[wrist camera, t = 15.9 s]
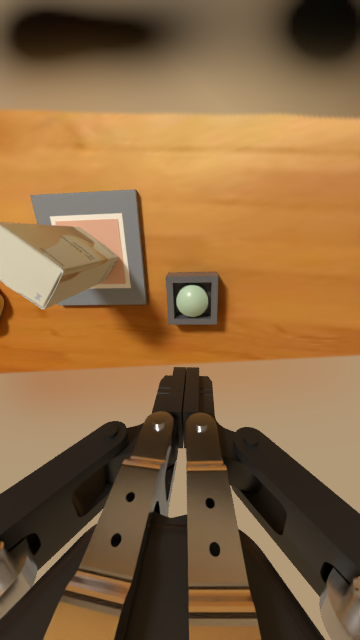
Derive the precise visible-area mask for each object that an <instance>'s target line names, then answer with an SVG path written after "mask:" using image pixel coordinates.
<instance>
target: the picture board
mask: <svg viewBox="0 0 360 640" xmlns="http://www.w3.org/2000/svg"><path fill="white" fill-rule="evenodd" d="M30 196H31V200H32V204H33V208H34V212H35V216H36V220H37V224H39V225H56V226H74V227H80V228H82V229H83V230H84V231H86V232H87V233H89V234H90V235H91V236H93V237H94V238H96V239H97V240H98V241H100V242H101V243H102V244H103V245H105V246H106V247H107V248H109V249H110V250H111V251H112V252H114V253H115V254H116V255H117V256H118V260H117V261H116V263H115V265H114V267H113V268H112V270H111V271H110V273H109V274H108V276H107V277H106V279H105V280H104V282H102V283H100V284H98V285H96V286H93V287H91V288H89V289H87V290H85V291H83V292H81V293H78V294H76V295H74V296H72V297H70V298H68V299H65V300H63V301H61V302H59V303H57V304H58V305H146V304H147V293H146V282H145V272H144V261H143V250H142V239H141V229H140V218H139V207H138V196H137V190H118V191H100V192H81V193H63V194H44V195H30Z"/></svg>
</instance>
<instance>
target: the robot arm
mask: <svg viewBox="0 0 360 640" xmlns="http://www.w3.org/2000/svg"><path fill="white" fill-rule="evenodd" d="M212 389H213V388H212V381H211V380H210V379H209V377H208V376H199V368H189V367H188V368H187V369H186V367H174V371H173V376H164V378H163V379H162V380H161V381H160V385H159V389H158V393H157V396H156V400H155V403H154V407H153V411H152V414H150V415H149V416H148V417H147V418H146V420H145V422H144V423H143V424H141V425H138V426H134V427H130V428H126V426H125V424H124V423H122V422H119V421H112V422H108V423H106V424H104V425H103V426H101V427H100V428H98V429H97V430H95V431H94V432H92V433H91V434H89V435H88V436H86V437H85V438H83V439H82V440H80V441H79V442H77V443H76V444H74V445H73V446H72V447H70V448H68V449H67V450H65V451H64V452H62V453H61V454H60V455H58V456H57V457H55V458H54V459H52V460H50V461H49V462H48V463H46V464H44V465H43V466H42V467H40V468H39V469H37V470H36V471H34V472H33V473H31V474H30V475H28V476H27V477H25V478H24V479H22V480H21V481H19V482H18V483H16V484H15V485H13V486H12V487H10V488H9V489H7V490H6V491H4V492H3V493H1V494H0V640H325V639H324V638H323V636H322V635H321V633H320V632H319V630H318V629H317V628H316V626H315V625H314V623H313V622H312V621H311V619H310V618H309V617H308V615H307V614H306V612H305V611H304V609H303V608H302V607H301V605H300V604H299V602H298V601H297V600H296V598H295V597H294V595H293V594H292V592H291V591H290V590H289V588H288V587H287V585H286V584H285V583H284V582H283V580H282V578H281V577H280V576H279V574H278V573H277V571H276V570H275V569H274V567H273V566H272V564H271V563H270V562H269V560H268V559H267V557H266V556H265V554H264V553H263V552H262V551H261V549H260V548H259V547H258V546H257V545H256V543H255V542H254V541H253V540H252V539H250V537H248V536H247V535H246V534H245V533H243V532H242V531H241V530H239V529H238V526H237V521H236V516H235V510H234V504H233V499H232V494H231V489H230V485H231V486H232V489H233V491H234V492H235V494H236V495H237V496H238V497H239V498H240V500H241V501H242V502H243V503H244V505H245V506H246V507H247V508H248V510H249V511H250V512H251V513H252V514H253V516H254V517H255V518H256V519H257V521H258V522H259V523H260V524H261V525H262V527H263V528H264V529H265V530H266V531H267V533H268V534H269V535H270V536H271V538H272V539H273V540H274V541H275V543H277V545H278V546H279V547H280V549H281V550H282V551H283V552H284V553H285V555H286V556H287V557H288V558H289V560H290V561H291V562H292V563H293V565H294V566H295V567H296V568H297V570H298V571H299V572H300V573H301V574H302V576H303V577H304V578H305V579H306V581H307V582H308V583H309V584H310V585H311V587H312V588H313V589H314V590H315V592H316V593H317V594H318V595H319V596H320V604H319V605H320V612H321V617H322V620H323V623H324V626H325V628H326V630H327V632H328V634H329V636H330V638H331V640H360V514H359V513H358V512H357V511H356V510H354V509H353V508H352V507H351V506H350V505H348V504H347V503H346V502H345V501H343V500H342V499H341V498H340V497H339V496H338V495H336V494H335V493H334V492H333V491H332V490H330V489H329V488H328V487H327V486H325V485H324V484H323V483H322V482H320V481H319V480H318V479H317V478H316V477H315V476H313V475H312V474H311V473H310V472H309V471H307V470H306V469H305V468H304V467H302V466H301V465H300V464H299V463H298V462H297V461H295V460H294V459H293V458H292V457H290V456H289V455H288V454H287V453H286V452H284V451H283V450H282V449H281V448H280V447H278V446H277V445H276V444H275V443H274V442H272V441H271V440H270V439H269V438H268V437H266V436H265V435H264V434H263V433H261V432H260V431H259V430H257V429H254V428H250V427H244V428H240V429H238V430H237V431H236V432H233V431H230V430H228V429H225V428H223V427H222V426H221V425H219V424H218V422H217V421H216V419H215V414H214V401H213V390H212ZM183 442H184V448H186V456H187V467H186V469H187V515H183V516H178V517H174V518H169V517H168V510H169V502H170V497H171V491H172V486H173V481H174V475H175V470H176V460H177V455H178V448H183ZM102 509H103V511H102V513H101V516H100V518H99V520H98V523H97V524H96V525H94V526H93V527H91V528H90V529H89V530H88V531H87V532H85V533H84V534H83V536H81V537H80V538H79V539H78V540H77V541H76V542H75V543H74V544H73V546H72V547H71V548H70V549H69V550H68V551H67V552H66V553H65V554H64V555H63V556H62V557H61V558H60V559H59V560H58V561H57V562H56V563H55V564H54V565H53V566H52V567H51V568H50V569H49V570H48V571H47V572H46V573H45V574H44V575H43V576H42V577H41V578H40V579H39V580H38V581H37V582H36V583H35V584H34V585H33V583H34V581H35V578H36V574H37V571H38V570H39V569H40V568H41V567H42V566H43V565H44V564H45V563H46V562H47V561H48V560H49V559H51V557H52V556H54V555H55V554H56V553H57V552H58V551H59V550H60V549H61V548H62V547H63V546H64V545H65V544H66V543H67V542H68V541H69V540H70V539H71V538H73V537H74V536H75V535H76V534H77V533H78V532H79V531H80V530H81V529H82V528H83V527H84V526H85V525H86V524H87V523H88V522H90V521H91V520H92V519H93V518H94V517H95V516H96V515H97V514H98V513H99V512H100V511H101V510H102Z"/></svg>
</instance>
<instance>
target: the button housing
mask: <svg viewBox="0 0 360 640" xmlns="http://www.w3.org/2000/svg"><path fill="white" fill-rule="evenodd" d="M190 283H195V284H199V285H201V286H202V287H203V288H204V289H205V290H206V292H207V296H208V306H207V308H206V310H205V311H204V312H203V313H202V314H201V315H199V316H196V317H189V316H186V315H184V314H182V313H181V312H180V311H179V309H178V307H177V303H176V300H177V296H178V293H179V291H180V289H181V288H182V287H183V286H185V285H186V284H190ZM166 288H167V305H168V322H169V325H208V324H217V306H218V274H217V272H180V273H168V274H167V276H166Z"/></svg>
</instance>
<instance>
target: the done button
mask: <svg viewBox="0 0 360 640" xmlns="http://www.w3.org/2000/svg"><path fill="white" fill-rule="evenodd" d="M176 303H177V307H178V309H179V311H180V312H181V313H182V314H184V315H186V316H189V317H196V316H199V315H201V314H202V313H203V312H204V311H205V310H206V308H207V306H208V296H207V292H206V290H205V289H204V288H203V287H202V286H201V285H199V284H195V283H190V284H186V285H185V286H183V287H182V288H181V289H180V291H179V293H178V296H177V300H176Z"/></svg>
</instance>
